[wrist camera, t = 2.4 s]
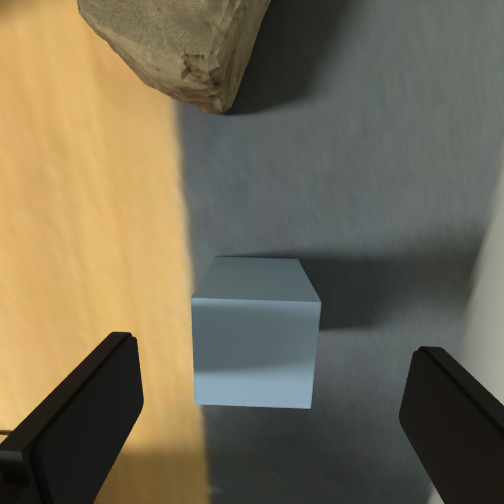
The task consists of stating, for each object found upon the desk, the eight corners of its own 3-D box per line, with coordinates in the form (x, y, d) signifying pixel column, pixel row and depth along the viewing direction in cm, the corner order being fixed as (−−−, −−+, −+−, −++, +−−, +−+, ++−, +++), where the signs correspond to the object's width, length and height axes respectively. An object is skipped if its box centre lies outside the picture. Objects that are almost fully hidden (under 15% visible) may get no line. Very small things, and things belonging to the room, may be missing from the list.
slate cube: (292, 331, 17) (310, 408, 11) (216, 328, 17) (194, 404, 11) (297, 258, 16) (321, 302, 10) (215, 256, 16) (191, 298, 10)
